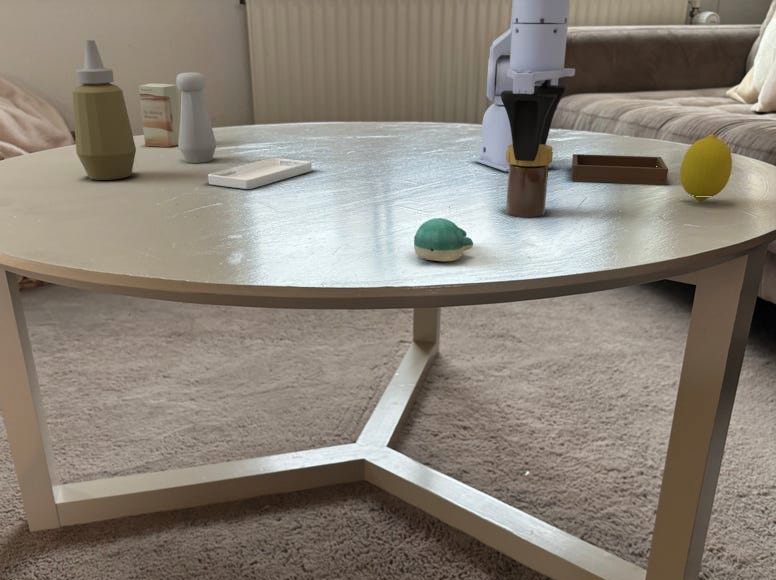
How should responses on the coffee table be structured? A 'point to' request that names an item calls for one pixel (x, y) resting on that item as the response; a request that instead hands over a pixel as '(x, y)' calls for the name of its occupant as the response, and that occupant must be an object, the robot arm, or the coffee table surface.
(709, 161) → the lemon
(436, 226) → the whale figurine
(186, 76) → the salt shaker
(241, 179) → the phone case
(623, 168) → the tray
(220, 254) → the coffee table surface
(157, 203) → the coffee table surface
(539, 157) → the jar lid
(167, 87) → the cream carton box
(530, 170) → the jar
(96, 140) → the squeeze bottle
